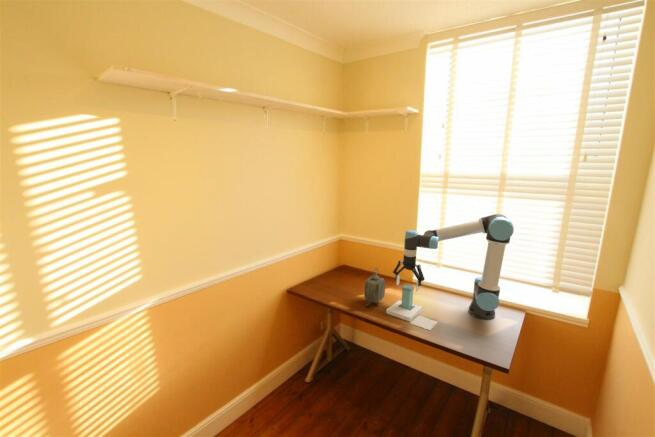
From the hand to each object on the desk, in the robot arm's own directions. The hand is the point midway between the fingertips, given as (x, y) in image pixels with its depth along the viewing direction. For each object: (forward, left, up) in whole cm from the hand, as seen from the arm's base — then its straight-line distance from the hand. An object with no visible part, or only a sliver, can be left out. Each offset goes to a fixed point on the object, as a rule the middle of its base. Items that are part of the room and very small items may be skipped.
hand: (407, 287), depth 199 cm
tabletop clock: (+20, +6, -16) cm, 26 cm away
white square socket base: (0, +3, -16) cm, 16 cm away
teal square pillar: (0, 0, -16) cm, 16 cm away
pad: (-15, +8, -16) cm, 23 cm away
